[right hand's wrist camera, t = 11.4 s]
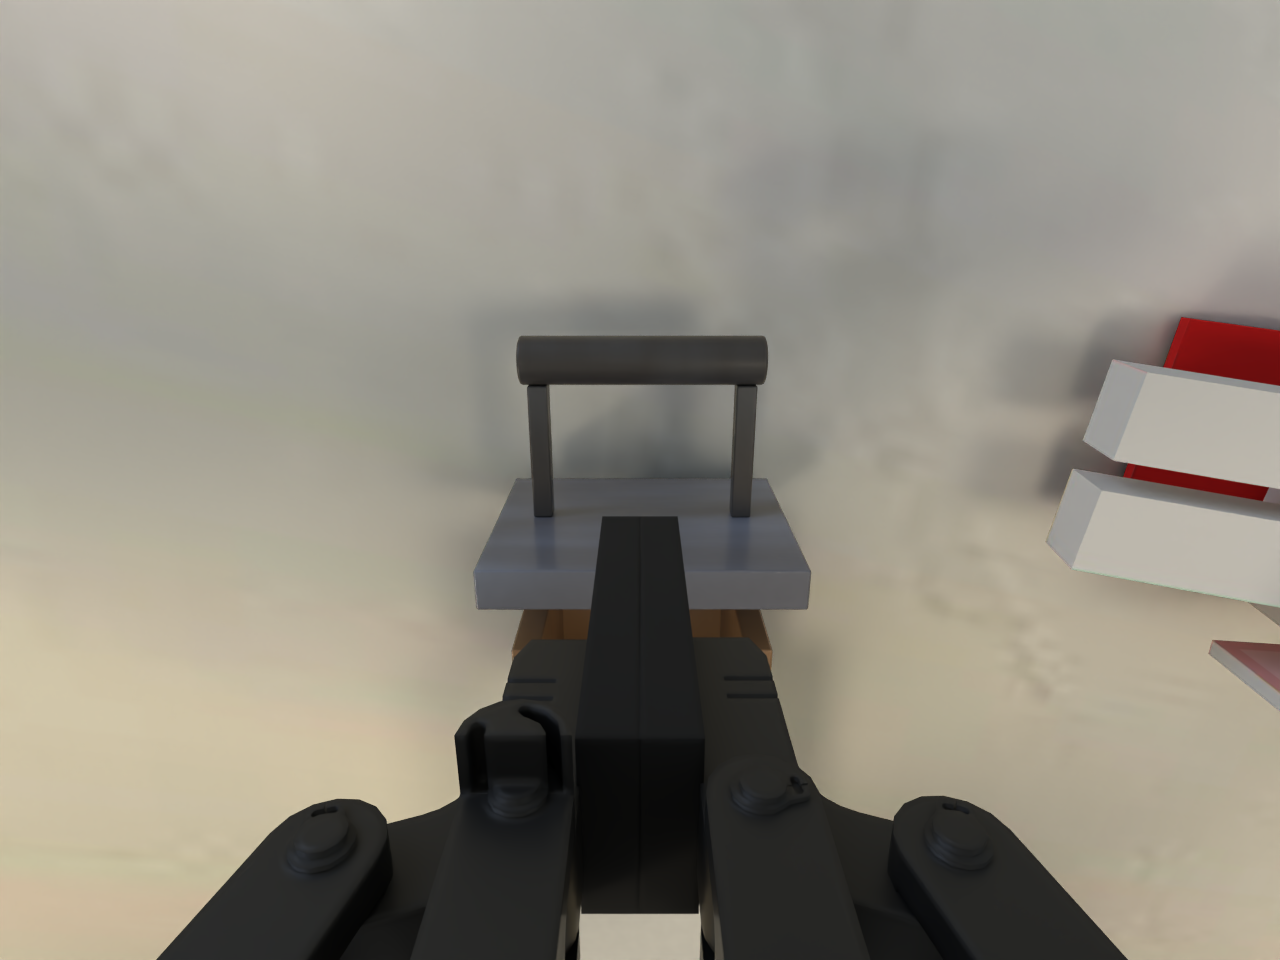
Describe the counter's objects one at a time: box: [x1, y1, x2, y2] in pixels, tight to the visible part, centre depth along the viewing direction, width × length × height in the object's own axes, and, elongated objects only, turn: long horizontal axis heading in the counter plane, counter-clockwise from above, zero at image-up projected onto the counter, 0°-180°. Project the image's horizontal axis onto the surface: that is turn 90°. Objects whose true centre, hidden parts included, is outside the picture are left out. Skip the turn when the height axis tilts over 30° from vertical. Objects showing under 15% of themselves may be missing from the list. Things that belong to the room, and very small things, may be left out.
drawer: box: [473, 336, 811, 670], centre depth 25 cm, size 21×9×7 cm, turn 0°
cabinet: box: [579, 906, 701, 960], centre depth 29 cm, size 17×10×9 cm, turn 0°
